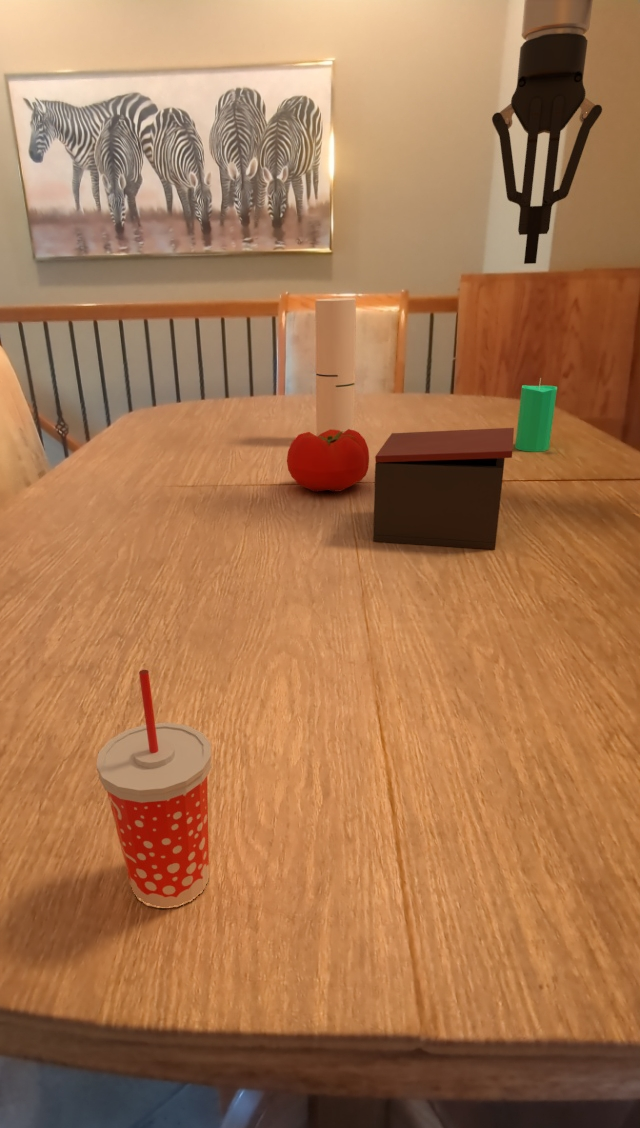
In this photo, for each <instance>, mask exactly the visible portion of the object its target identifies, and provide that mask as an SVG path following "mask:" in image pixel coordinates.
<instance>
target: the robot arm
mask: <svg viewBox="0 0 640 1128" xmlns="http://www.w3.org/2000/svg"><path fill="white" fill-rule="evenodd" d="M593 2H594V0H524V2H523V3H524V4H523V15H522V25H521V38H522V39H523V40H525V41H524V42H523V43H522V45H521V46H520V47H519V48H520V49H519V58H518V59H519V60H518V69H517V81H516V87H515V90H514V92H513V94H512V96H511V99H510V103H509V104H508V105H507V106H506V107H504V108H503V109H502V110H500V111H499V112H495V113H494V114H493V115H492V117H491V122H492V125H493V127H494V129H495V131H496V133H497V134H498V135H497V136H498V137H499V144H500V150H501V151H500V152H501V160H502V168H503V174H504V175H503V176H504V184H505V185H504V186H505V192H506V198H507V200H508V201H509V202H510V203H514V204H517V205H518V206H519V220H518V228H517V231H518V235H519V236H524V235H526V240H525V251H524V259H523V264H524V265H528V264H529V265H531V264H534V265H535V264H537V257H538V248H539V239H540V235H548V233H549V230H550V226H551V225H550V224H551V217H552V216H551V215H552V209H553V205H554V204H556V203H557V202H559V201H562V200H564V199H566V198H567V197H568V195H569V193H570V190H571V187H572V184H573V181H574V179H575V175H576V172H577V170H578V167H579V164H580V160H581V158H582V155H583V152H584V149H585V146H586V143H587V140H588V137H589V135H590V132H591V129H592V128H593V126H594V125H595V124H596V122H597V121H598V119H599V118H600V116H601V114H602V113H603V107H602V105H600V104H595V103H594V102H593V101H591V100H589V98H587V97H586V93H587V92H586V89H585V86H584V75H585V64H586V56H587V48H588V39H587V37H586V36H584V35H585V34H586V33H587V32H589V29H590V26H591V18H592V17H591V16H592V9H593ZM579 109H580V114H579V117H578V121H579V123H580V124H581V125H580V127H579V130H578V132H577V135H576V138H575V140H574V144H573V146H572V150H571V153H570V156H569V159H568V160H567V164H566V167H565V171H564V174H563V177H562V180H561V182H560V186H559V188H558V189H556V190H555V185H556V183H555V182H556V174H557V165H558V157H559V148H560V147H559V146H560V139H561V132H562V131H563V130H564V129H565V128H566V126H567V125H568V124H569V123H570V121H571V120H572V118H574V115H575V114H576V113H577V112H578V110H579ZM514 114H515V116H516V119H517V120H518V122H519V124H520V125H521V126H522V129H523V130H524V132H525V133H527V137H526V138H527V139H526V149H525V158H524V159H525V160H524V161H525V162H524V168H523V178H522V188H521V192H520V191H518V190H517V184H516V175H515V167H514V160H513V159H514V158H513V151H512V143H511V142H512V141H511V136H510V135H511V134H510V131H509V129H510V128H511V127H512V126H513V115H514ZM543 133H544V134H545V133H546V134H548V144H547V152H546V153H547V155H546V161H545V162H546V164H545V173H544V182H543V190H542V199H541V200H542V201H541V205H532V203H531V202H532V195H533V187H534V178H535V177H534V176H535V167H536V158H537V157H536V156H537V149H538V138H539V135H540V134H543Z"/></svg>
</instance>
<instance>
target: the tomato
mask: <svg viewBox="0 0 640 1128" xmlns="http://www.w3.org/2000/svg"><path fill="white" fill-rule="evenodd" d="M342 432H343V431H342ZM342 432H341V431H340V430H332V429H330V430H328V431H326V432H323V433H321V434H320V435H319V436H317V435H315V434H314V433H312V432H310V431H307V432H302V433H299V434H298V435H297V436H296V437H295V438H294V439H293V440H292V442H291V443H290V446H289V448H288V450H287V456H286V464H287V470H288V473H289V474H290V476H291V478H292V479H293V480H294V481H295V482H296V484H297V485H298V486H300V487H303V488H305V489H308V490H310V491H312V492H315V493H317V492H324V491H330V492H342V491H344V490H346V489H348V488H351V487H352V486H354V485H355V484H357V483H360V481H362V480H363V479H364V478H365V477H366V476H367V473H368V471H369V467H370V450H369V447H368V443H367V441H366V439H365V437H363V436H362V435H361V433H360V432H359V431H356V430H355V429H354V430H350V429H348V430H346V431H345V432H344V433H342Z"/></svg>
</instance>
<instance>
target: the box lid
mask: <svg viewBox="0 0 640 1128" xmlns="http://www.w3.org/2000/svg"><path fill="white" fill-rule="evenodd" d="M514 435H515V429H514V427H500V428H498V427H497V428H477V429H458V430H457V429H455V430H438V431H437V430H436V431H435V430H433V431H432V430H431V431H414V432H413V431H412V432H410V431H409V432H391V433H390V435H389V436H388V438H387V439H386V440H385V442H384V443H383V445H382V446H381V447H380V449H379V450H378V452H377V453H376V455H375V457H374V459H375V463H377V462H406V461H435V460H464V459H493V458H505V459H512V458H513V447H514Z"/></svg>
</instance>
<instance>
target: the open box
mask: <svg viewBox="0 0 640 1128" xmlns="http://www.w3.org/2000/svg"><path fill="white" fill-rule="evenodd" d="M505 459H506V458H493V459H464V460H435V461H406V462H377V463H376V462H375V464H374V495H373V496H374V497H373V501H374V502H373V530H372V531H373V532H372V533H373V534H372V541H373V543H374V542H377V543H392V544H405V545H406V544H407V545H419V546H433V547H434V546H435V547H451V548H462V549H463V548H464V549H479V550H493V551H495V550H496V545H497V536H498V535H497V534H498V526H499V515H500V507H501V496H502V487H503V478H504V469H505Z"/></svg>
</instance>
